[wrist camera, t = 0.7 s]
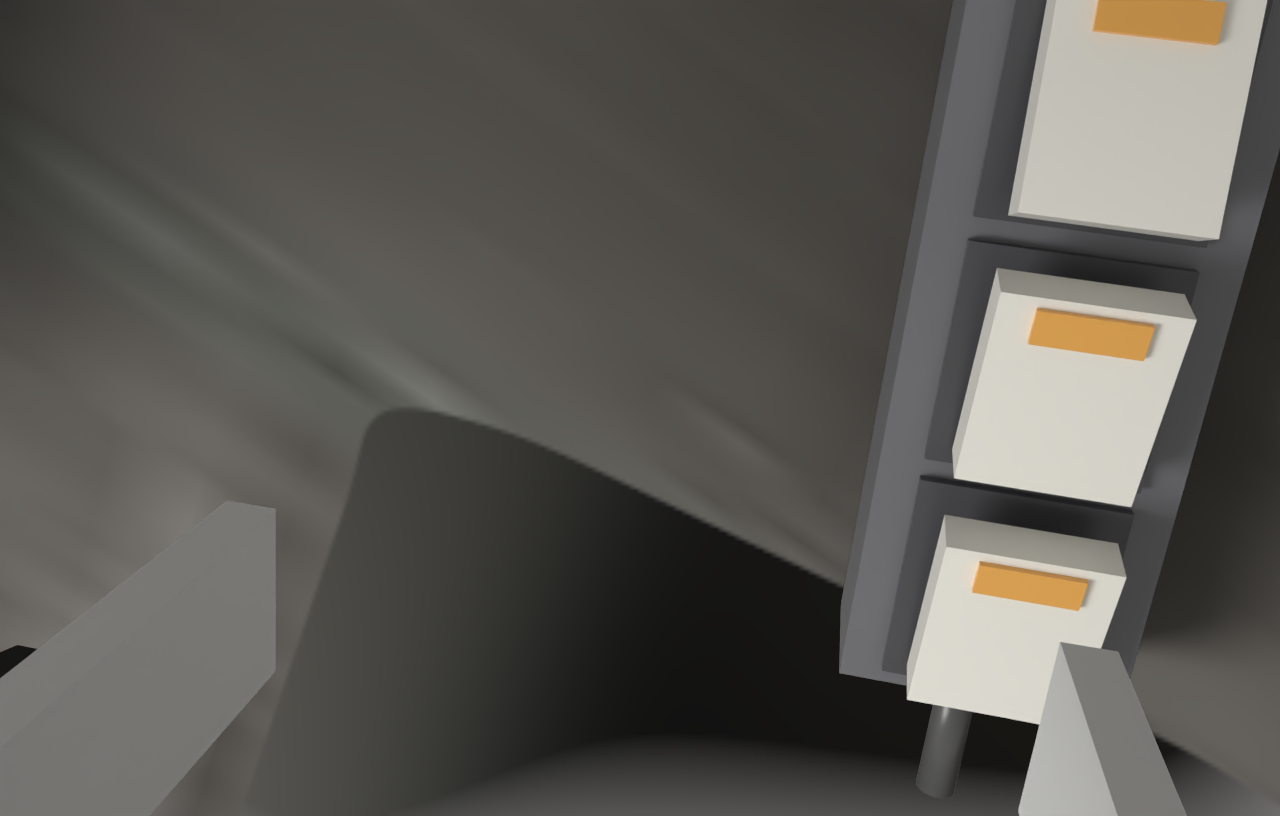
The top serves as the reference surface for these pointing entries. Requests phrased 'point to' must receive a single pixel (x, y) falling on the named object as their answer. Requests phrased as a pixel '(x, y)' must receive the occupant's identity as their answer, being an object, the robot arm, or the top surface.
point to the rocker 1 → (1137, 114)
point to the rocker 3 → (1007, 614)
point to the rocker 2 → (1070, 385)
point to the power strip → (950, 331)
